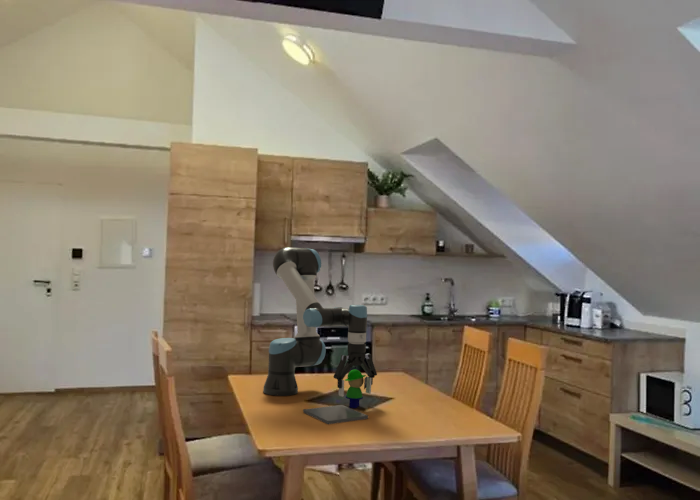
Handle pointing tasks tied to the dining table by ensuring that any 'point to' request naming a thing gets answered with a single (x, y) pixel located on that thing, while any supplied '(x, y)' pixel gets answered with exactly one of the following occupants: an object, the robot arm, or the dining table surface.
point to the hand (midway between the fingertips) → (354, 394)
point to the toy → (355, 387)
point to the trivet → (335, 414)
